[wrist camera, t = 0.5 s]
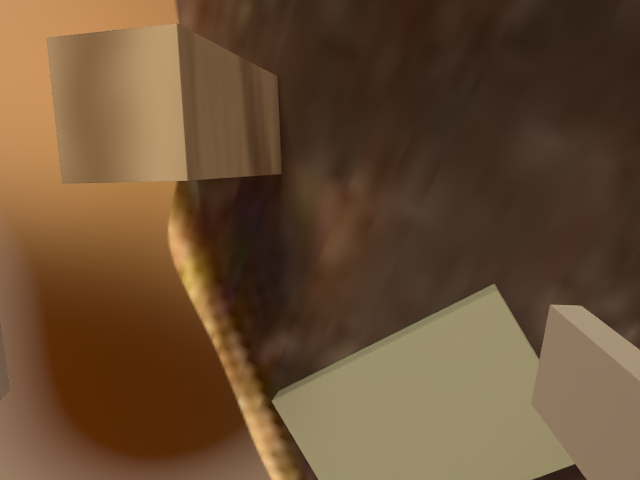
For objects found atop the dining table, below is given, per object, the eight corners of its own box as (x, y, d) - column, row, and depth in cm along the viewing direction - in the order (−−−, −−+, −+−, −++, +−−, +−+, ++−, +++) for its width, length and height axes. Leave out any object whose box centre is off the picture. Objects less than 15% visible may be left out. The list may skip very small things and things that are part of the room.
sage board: (494, 283, 29) (497, 290, 27) (587, 441, 29) (595, 456, 28) (278, 390, 33) (271, 401, 32) (360, 527, 34) (356, 543, 32)
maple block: (277, 76, 30) (176, 23, 19) (281, 173, 31) (187, 180, 20) (190, 83, 32) (46, 37, 20) (196, 176, 32) (62, 183, 21)
